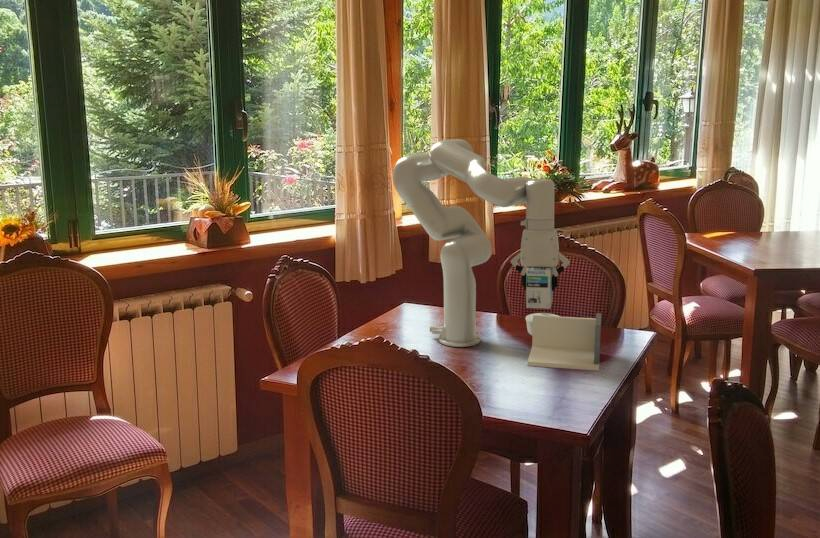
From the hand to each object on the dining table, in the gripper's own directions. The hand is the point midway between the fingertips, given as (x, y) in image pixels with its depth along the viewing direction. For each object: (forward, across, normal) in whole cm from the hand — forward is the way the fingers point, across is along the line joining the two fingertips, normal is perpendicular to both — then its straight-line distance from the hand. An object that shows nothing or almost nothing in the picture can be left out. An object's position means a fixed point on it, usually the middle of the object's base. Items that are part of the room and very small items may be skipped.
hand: (539, 288), depth 219 cm
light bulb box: (+5, 0, 0) cm, 5 cm away
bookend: (+19, +16, +2) cm, 25 cm away
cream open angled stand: (+20, +7, +1) cm, 21 cm away
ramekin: (+20, -1, +25) cm, 32 cm away
